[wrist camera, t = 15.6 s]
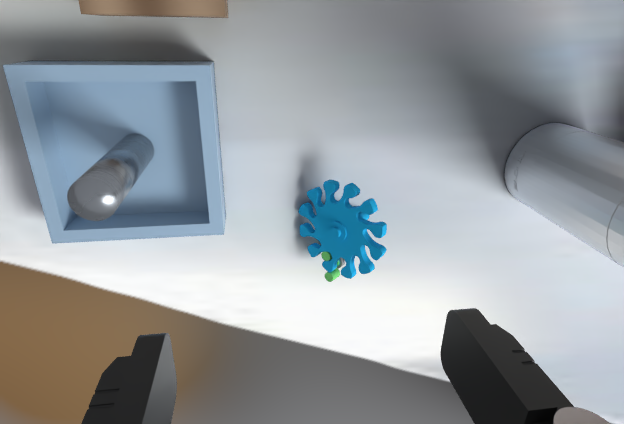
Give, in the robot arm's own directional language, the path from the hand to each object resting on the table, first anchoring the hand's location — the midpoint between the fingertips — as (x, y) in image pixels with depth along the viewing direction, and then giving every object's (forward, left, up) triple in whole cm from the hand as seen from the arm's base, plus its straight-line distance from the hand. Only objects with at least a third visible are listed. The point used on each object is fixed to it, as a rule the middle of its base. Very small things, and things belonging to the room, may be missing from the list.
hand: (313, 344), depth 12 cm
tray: (+12, +2, -30) cm, 32 cm away
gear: (-7, +10, -30) cm, 33 cm away
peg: (+12, +2, -29) cm, 31 cm away
